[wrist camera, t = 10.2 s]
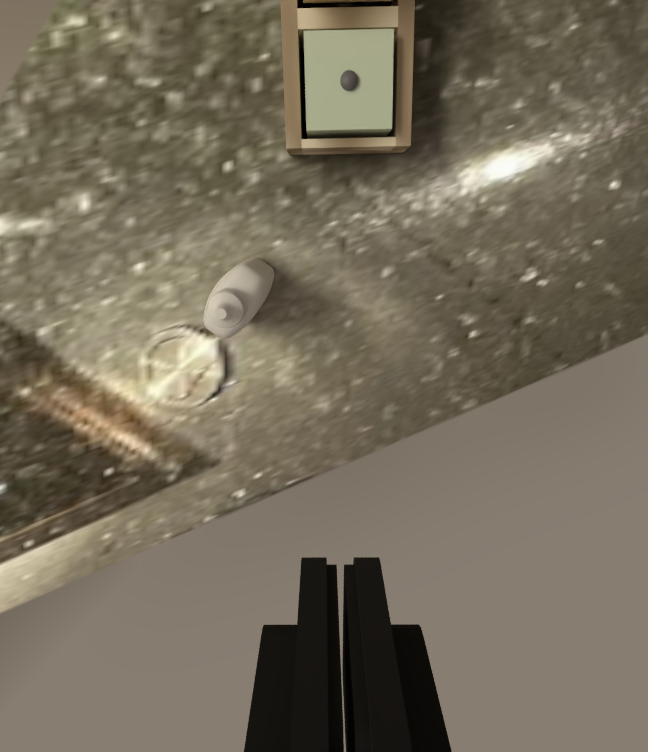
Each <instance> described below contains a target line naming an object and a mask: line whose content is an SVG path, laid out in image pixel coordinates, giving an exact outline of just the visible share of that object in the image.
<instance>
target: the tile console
mask: <svg viewBox="0 0 648 752" xmlns="http://www.w3.org/2000/svg"><path fill="white" fill-rule="evenodd" d="M414 14H415V0H392V1H391V6H380V7H334V8H299V1H298V0H281V25H282V50H283V74H284V99H285V124H286V149H287V151H288V153H289V155H326V154H371V153H403V152H404V151H405V150H406V149H408V148H409V147H410V146H411V120H412V85H413V49H414ZM361 29H394V51H393V107H392V129H391V131H390V132H389V137H374V138H329V139H303V129H302V97H301V65H300V47H304V31H315V30H361Z"/></svg>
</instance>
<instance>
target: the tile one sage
mask: <svg viewBox="0 0 648 752" xmlns="http://www.w3.org/2000/svg"><path fill="white" fill-rule="evenodd" d="M393 51H394V29H361V30H315V31H304V64H305V98H306V131H307V138H308V139H329V138H374V137H386V136H387V135H388V133H389V132H390V131H391V129H392V107H393Z"/></svg>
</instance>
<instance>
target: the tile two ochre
mask: <svg viewBox="0 0 648 752" xmlns="http://www.w3.org/2000/svg"><path fill="white" fill-rule="evenodd" d="M376 1H392V0H303V3H330V2H376Z"/></svg>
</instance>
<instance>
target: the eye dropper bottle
mask: <svg viewBox="0 0 648 752" xmlns="http://www.w3.org/2000/svg"><path fill="white" fill-rule="evenodd" d="M273 279H274V270H273V269H272V267H270V266H269V265H268V264H266V263H265V262H263V261H262V260H260V259H259V258H256V257H254V258H250V259H248V260H246V261H244V262H242V263H241V264H239V265H237V266H236V267H234V268H233V269H231V270H230V271H229V272H228V273H226V274H225V275H224V276H223V277H222V278H221V279H220V280H219V282H218V283H217V284H216V285H215V287H214V288H213V290H212V292H211V294H210V296H209V298H208V301H207V304H206V307H205V312H204V325H205V327H206V328H207V329H208V330H210V331H211V332H213V333H214V334H216V335H217V336H219V337H221V338H224V339H226V338H230V337H232V336H234V335H235V334H237V333H238V332H239V331H241V330H242V329H243V328H244V327H245V326H246V325H247V324H248V323H249V322H250V321H251V319H252V318H253V317H254V315H255V314H256V313H257V311H258V310H259V309H260V307H261V306H262V304H263V303H264V301H265V300H266V298H267V296H268V294H269V292H270V290H271V287H272V283H273Z"/></svg>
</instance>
